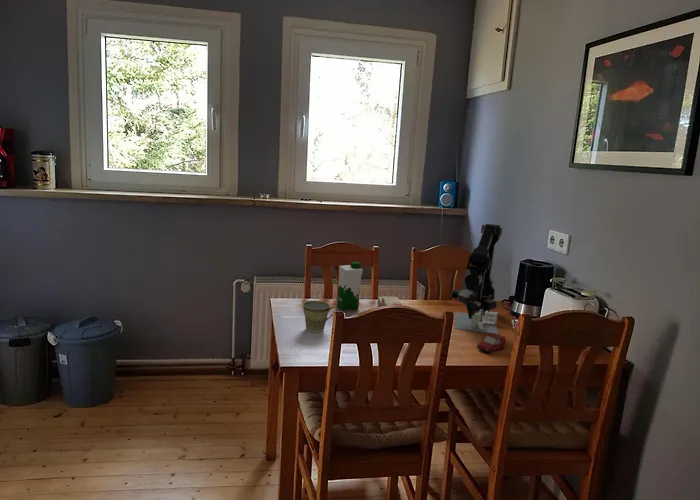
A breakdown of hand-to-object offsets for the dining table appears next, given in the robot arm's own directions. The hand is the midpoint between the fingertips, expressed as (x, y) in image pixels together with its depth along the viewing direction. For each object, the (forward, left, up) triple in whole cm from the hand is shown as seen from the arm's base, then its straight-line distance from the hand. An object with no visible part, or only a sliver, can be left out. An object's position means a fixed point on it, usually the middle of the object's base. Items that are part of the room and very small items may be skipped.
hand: (470, 319), depth 217 cm
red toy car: (+23, +7, -3) cm, 25 cm away
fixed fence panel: (-6, +7, -3) cm, 10 cm away
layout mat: (-4, +3, -3) cm, 6 cm away
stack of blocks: (+16, -32, -3) cm, 36 cm away
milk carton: (-1, -52, -3) cm, 52 cm away
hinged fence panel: (-1, +3, -2) cm, 4 cm away
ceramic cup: (+30, -57, -3) cm, 64 cm away
